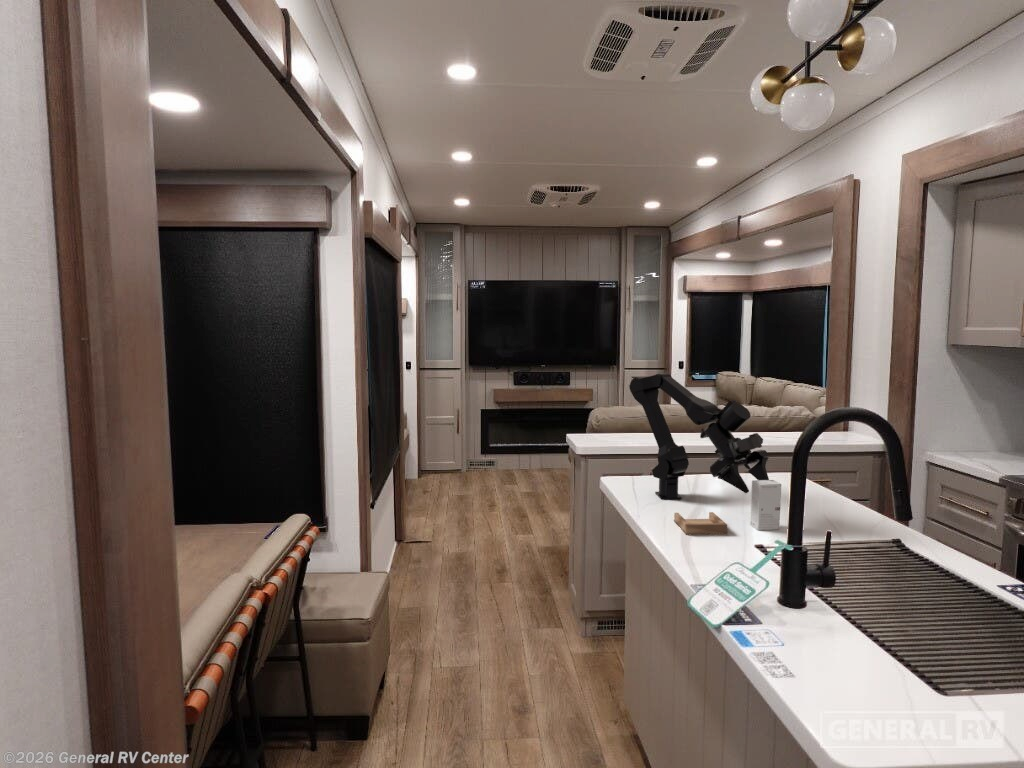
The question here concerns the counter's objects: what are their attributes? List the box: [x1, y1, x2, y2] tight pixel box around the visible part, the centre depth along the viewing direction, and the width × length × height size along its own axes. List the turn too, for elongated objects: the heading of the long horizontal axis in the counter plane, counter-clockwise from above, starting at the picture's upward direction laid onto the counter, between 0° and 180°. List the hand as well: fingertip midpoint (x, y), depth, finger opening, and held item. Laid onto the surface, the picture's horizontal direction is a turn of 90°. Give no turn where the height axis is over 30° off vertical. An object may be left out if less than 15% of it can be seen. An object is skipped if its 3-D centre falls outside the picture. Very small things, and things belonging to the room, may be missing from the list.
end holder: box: [673, 511, 728, 536], centre depth 154 cm, size 10×10×2 cm
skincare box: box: [749, 479, 782, 531], centre depth 154 cm, size 6×4×12 cm
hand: (758, 489), depth 155 cm, fingers open, 9 cm apart
